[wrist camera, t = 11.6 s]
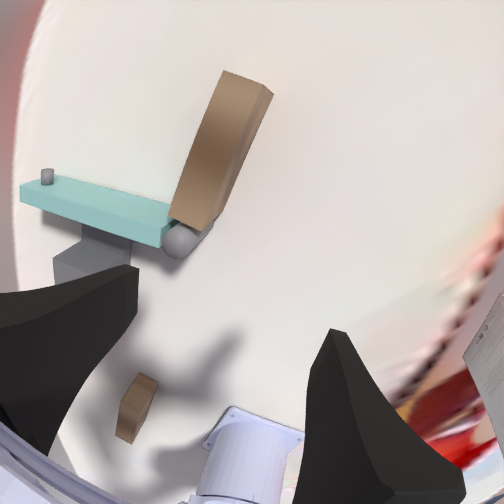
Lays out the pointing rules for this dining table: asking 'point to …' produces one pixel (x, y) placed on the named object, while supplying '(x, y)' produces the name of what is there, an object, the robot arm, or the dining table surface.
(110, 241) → the door stop
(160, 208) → the door
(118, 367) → the dining table surface
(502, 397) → the small box
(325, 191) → the dining table surface
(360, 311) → the dining table surface
